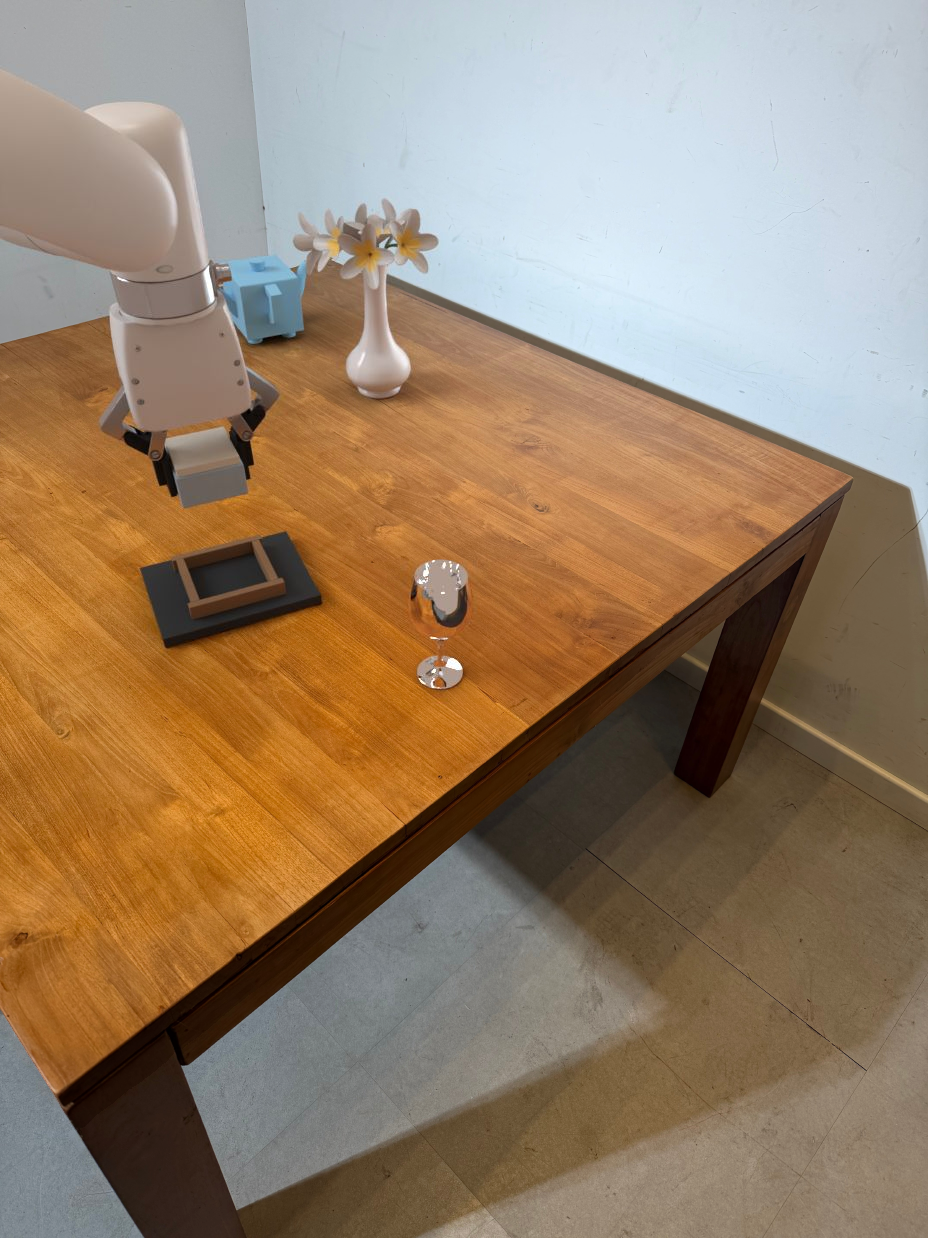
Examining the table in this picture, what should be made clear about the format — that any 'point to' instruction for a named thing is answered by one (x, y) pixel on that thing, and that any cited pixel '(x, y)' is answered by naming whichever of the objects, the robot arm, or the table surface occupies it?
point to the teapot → (265, 297)
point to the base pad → (228, 587)
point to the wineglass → (440, 616)
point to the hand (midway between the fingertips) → (207, 478)
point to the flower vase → (371, 284)
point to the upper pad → (206, 467)
